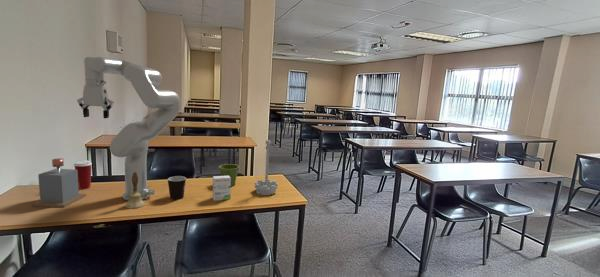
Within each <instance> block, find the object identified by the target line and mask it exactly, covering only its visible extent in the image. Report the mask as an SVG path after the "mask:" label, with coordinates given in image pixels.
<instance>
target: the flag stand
mask: <svg viewBox="0 0 600 277" xmlns="http://www.w3.org/2000/svg"><path fill="white" fill-rule="evenodd" d="M271 143H272V142H271V140H269V139H267V140H266V141H265V145H266V146H265V149H266V150H265V152H266V154H265V171H264V172H265V175H264V176H265V178H264V180H263V179H258V180H256V181H254V188H255V190H256V191H255V192H256V193H257V194H258V195H262V196H271V194H272V195H275V194H276V192H277V191H276V190H277V189H278V187H279V183H278V182H277V181H276V180H274V179H273V180H272V181H271V179H269V165H270V164H269V162H270V161H269V160H270V158H269V157H270V145H272V144H271ZM274 193H275V194H274Z"/></svg>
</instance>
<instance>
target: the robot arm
mask: <svg viewBox="0 0 600 277" xmlns="http://www.w3.org/2000/svg"><path fill="white" fill-rule="evenodd" d="M104 74H111V75H113V74H114V75H118V76H123V77H124V79H126V81H128V82H130V83H131V86H132V87H133V89H134V90H135V92H136V94H137V95H138V96H139V97H138V98H140V100H141V102H142V103H143V105H144V106H146V107H147V108H149V109H156V110H155V111H153V112H152V113H151V114H150V115H149V116H148V117H147V118H146V119H145V120H142V121H135V122H130V123H128V124H127V125H125V126H124V127H123V128H122V129H121V130H120V131H119V132H118V133H117V134H116V135H115V136H114V138H112V140H111V142H110V144H109V151H110V153H111V154H112V156H114V157H117V158H125V161H124V184H125V192H124V193H122V195H121V198H122V200H124V201H129V197H130V194H132V193H133V183H132V176H133V173H134V172H137V175H138V183H137V193H140V195H141V199H142V200H144V199H145V200H146V199H147V198H149V197H150V196H151V195H153V196H154V195H155V189H150V186H149V185H148V180H147V178H148V175H147V172H148V171H147V159H148V158H147V155H148V150H149V141H152V140H154V139H156V137H158V136H159V134H160V133H161V132H162V131H164V129H166V127H167V126H168V125H169V124H170V123H171V122H172V121H173V120H174V119H175V118H177V116H178V114H179V112H180V109H181V106H182V105H181V98H180V96H179V95H178V93H177V92H175V91H173V90H171V89H157V88H155V87H158V86H160V85H161V84H162V82H163V76H162V74H161V72H160V71H158V70H157V69H154V68H150V67H147V66H143V65H140V64H137V63H133V62H129V61H126V60H123V59H119V58H111V57H105V56H95V57H94V56H87V57H86V56H85V57H84V78H85V80H84V83H85V84H84V86H83V90H82V97H80V98H79V99H78V98H77V99H76V102H77V103H78V105H79V106H80V108H81V110H82V114H83V117H84V118H88V117H90V109H89V107H101V108H102V109H103V111H102V114H103V119H109V116H110V110H111V109H112V107H113V106H114V104H115V101H113V100H112V99H109V95H108V94H109V93H108V90H107V86H105V85H106V84H107V82H106V81H105V79H104Z"/></svg>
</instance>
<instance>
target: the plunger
mask: <svg viewBox="0 0 600 277" xmlns="http://www.w3.org/2000/svg"><path fill="white" fill-rule="evenodd" d="M51 162H52V167H53V168H56V169H57V173H60V169H61V167H64V166H65V165H64V158H53V159H52V160H51Z"/></svg>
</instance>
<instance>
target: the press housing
mask: <svg viewBox="0 0 600 277" xmlns="http://www.w3.org/2000/svg"><path fill="white" fill-rule="evenodd" d="M37 178H38V187H39V189H38V190H39V200H37V201H34V202H32V203H31V205H32V207H47V206H49V207H50V208H51V207H52V208H66V207H67V206H70V205H72V204H74V203H76V202H78V201H79V200H82V199H83V198H86V196H87V194H86V193H80V191H79V190H80V189H78V172H77V170H75V168H74V169H72V168H71V169H70V168H60V173H57V168H53V169H51V170H47V171H44V172H41V173H38V177H37Z"/></svg>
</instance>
